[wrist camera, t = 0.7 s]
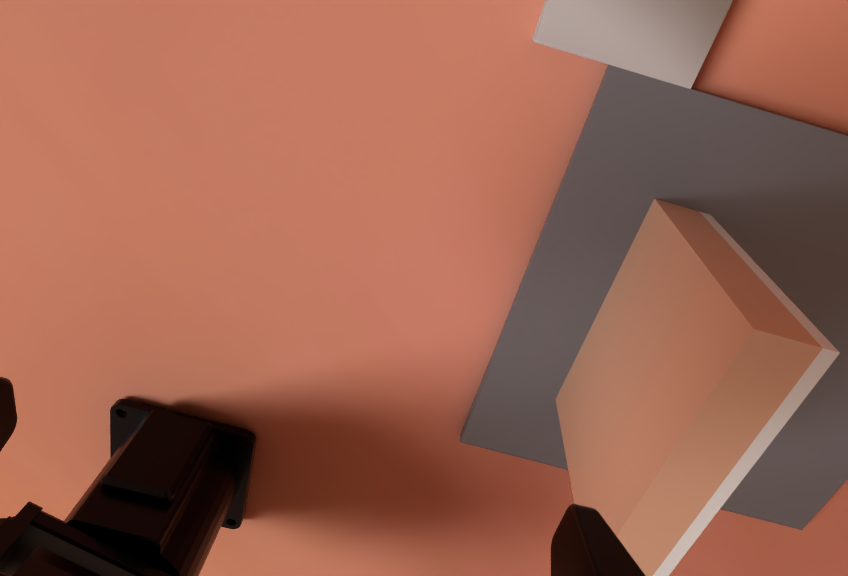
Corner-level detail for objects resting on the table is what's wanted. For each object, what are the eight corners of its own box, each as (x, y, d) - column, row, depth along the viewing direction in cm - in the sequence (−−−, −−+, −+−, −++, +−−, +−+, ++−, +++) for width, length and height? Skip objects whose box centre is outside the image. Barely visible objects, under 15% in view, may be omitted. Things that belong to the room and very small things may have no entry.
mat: (796, 520, 27) (802, 529, 26) (460, 434, 26) (460, 441, 25) (1075, 203, 19) (1090, 209, 18) (609, 63, 18) (612, 65, 18)
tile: (601, 411, 24) (653, 595, 17) (555, 399, 24) (588, 579, 17) (710, 214, 20) (839, 352, 13) (654, 198, 19) (753, 328, 12)
